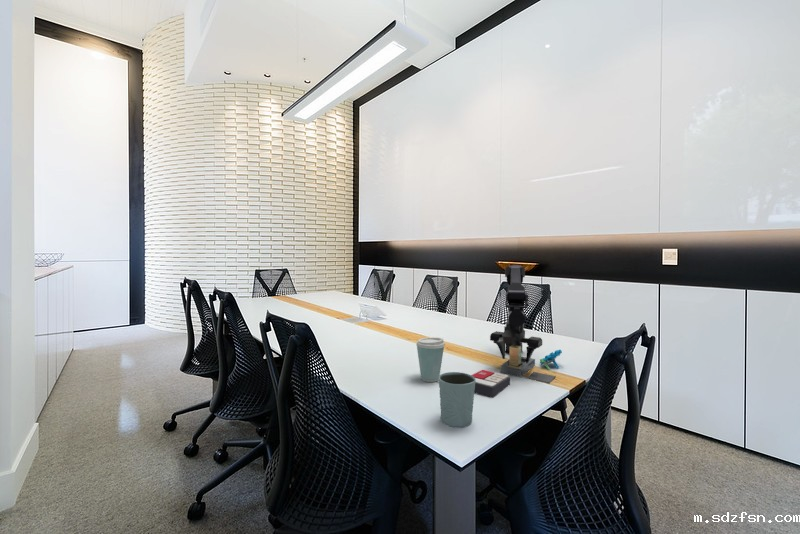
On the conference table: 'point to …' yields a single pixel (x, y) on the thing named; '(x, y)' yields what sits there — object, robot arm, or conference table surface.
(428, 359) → the disposable coffee cup
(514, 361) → the brass peg
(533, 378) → the rubber pad
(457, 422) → the green tumbler cup
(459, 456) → the conference table surface
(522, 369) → the grey cinder block
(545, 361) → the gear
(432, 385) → the conference table surface
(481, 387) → the calculator
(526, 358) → the robot arm
